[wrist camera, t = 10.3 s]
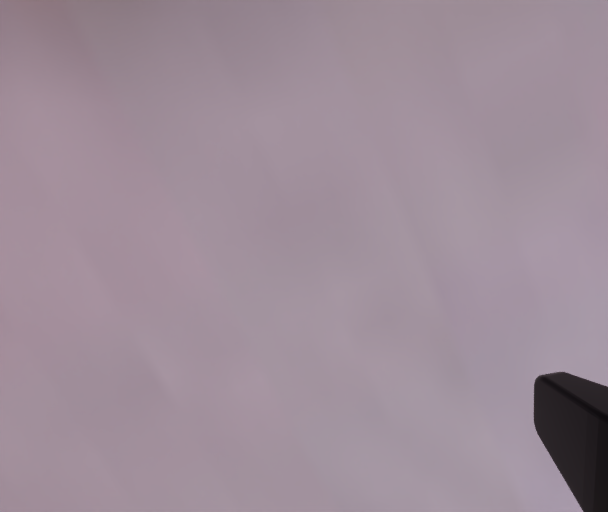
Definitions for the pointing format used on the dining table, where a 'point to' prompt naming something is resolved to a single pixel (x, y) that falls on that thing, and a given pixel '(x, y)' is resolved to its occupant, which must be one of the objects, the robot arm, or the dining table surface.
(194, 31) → the dining table surface
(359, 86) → the dining table surface
